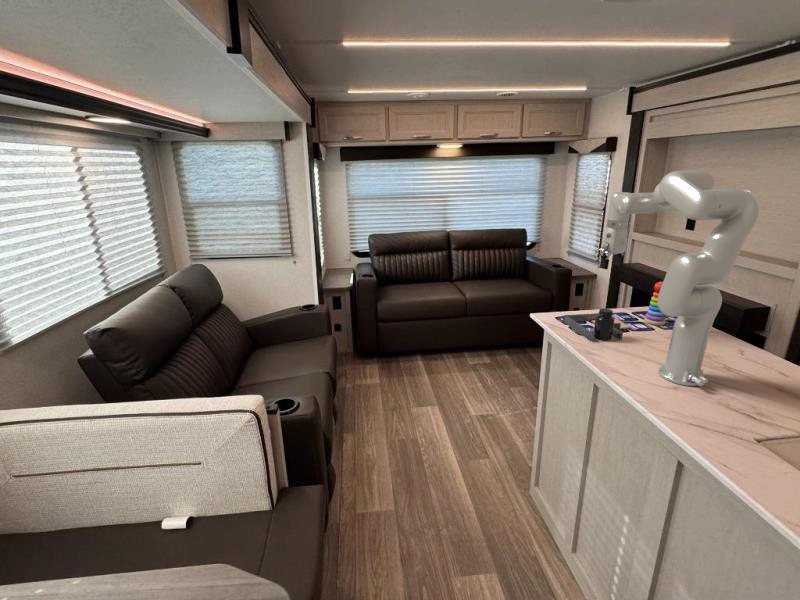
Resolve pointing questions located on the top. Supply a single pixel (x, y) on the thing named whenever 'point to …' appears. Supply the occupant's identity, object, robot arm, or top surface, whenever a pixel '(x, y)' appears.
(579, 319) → the bent rails
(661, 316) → the stacking toy
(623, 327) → the end pad
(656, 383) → the top surface
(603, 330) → the supplement bottle
